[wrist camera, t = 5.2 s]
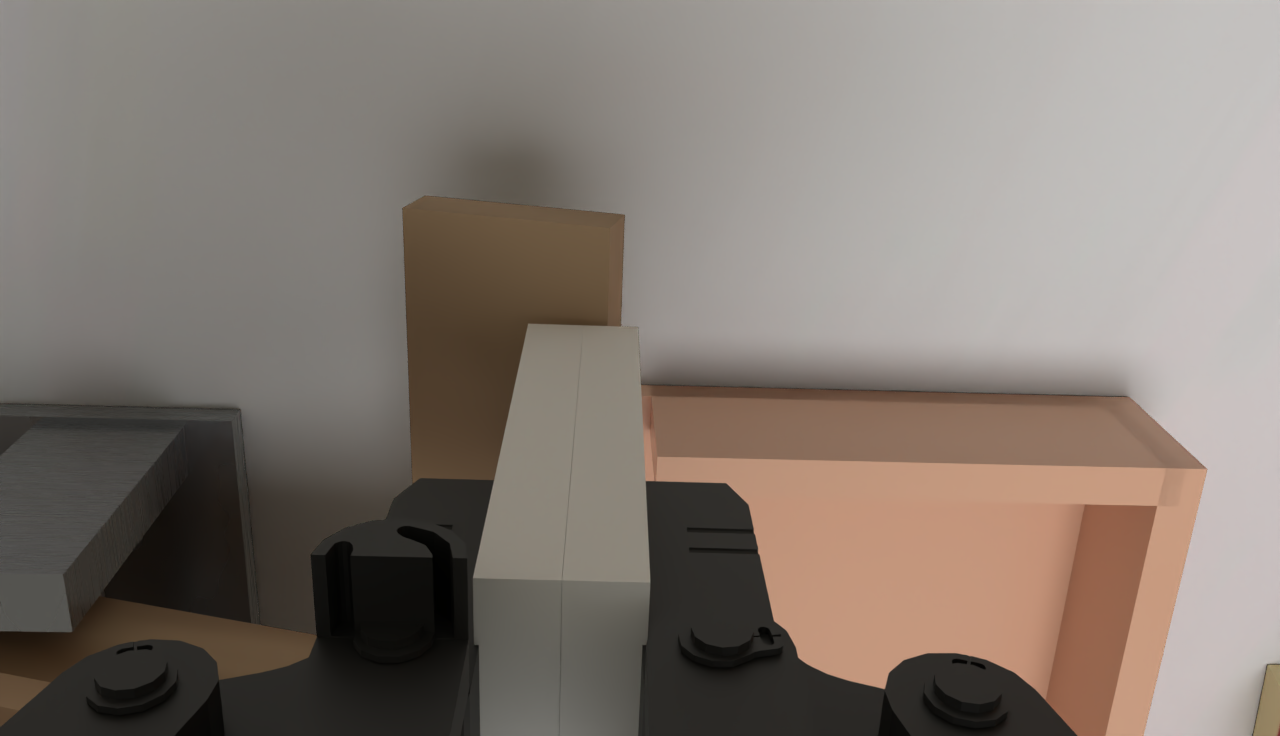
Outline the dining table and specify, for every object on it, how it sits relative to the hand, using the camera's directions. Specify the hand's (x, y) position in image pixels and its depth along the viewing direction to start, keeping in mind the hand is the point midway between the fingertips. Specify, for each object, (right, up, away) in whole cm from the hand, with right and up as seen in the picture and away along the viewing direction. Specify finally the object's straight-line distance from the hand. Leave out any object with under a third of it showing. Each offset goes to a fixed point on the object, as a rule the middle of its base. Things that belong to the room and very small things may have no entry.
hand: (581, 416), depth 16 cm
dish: (+5, -5, +11) cm, 13 cm away
